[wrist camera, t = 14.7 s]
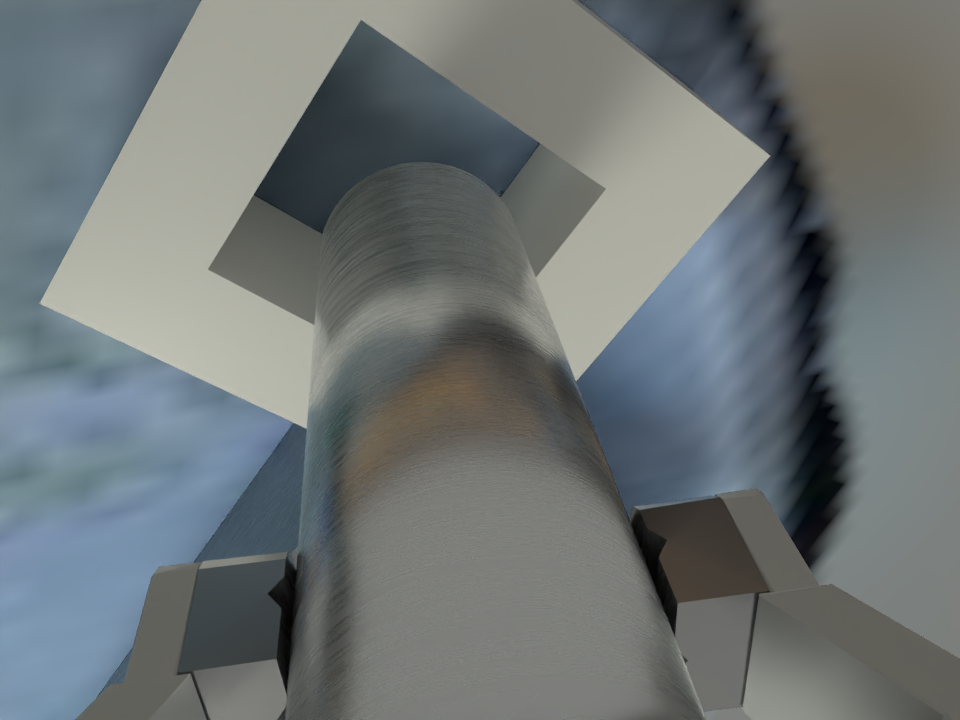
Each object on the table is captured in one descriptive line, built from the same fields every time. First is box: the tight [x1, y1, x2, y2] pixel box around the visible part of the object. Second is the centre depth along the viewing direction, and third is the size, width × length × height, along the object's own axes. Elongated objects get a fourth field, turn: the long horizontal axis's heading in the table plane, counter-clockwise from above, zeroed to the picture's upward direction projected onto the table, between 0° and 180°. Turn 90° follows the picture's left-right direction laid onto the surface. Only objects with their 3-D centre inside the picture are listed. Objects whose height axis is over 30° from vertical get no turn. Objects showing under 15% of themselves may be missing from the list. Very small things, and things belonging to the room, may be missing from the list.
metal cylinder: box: [285, 162, 707, 720], centre depth 13 cm, size 4×4×12 cm
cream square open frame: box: [40, 0, 770, 429], centre depth 21 cm, size 11×11×5 cm
